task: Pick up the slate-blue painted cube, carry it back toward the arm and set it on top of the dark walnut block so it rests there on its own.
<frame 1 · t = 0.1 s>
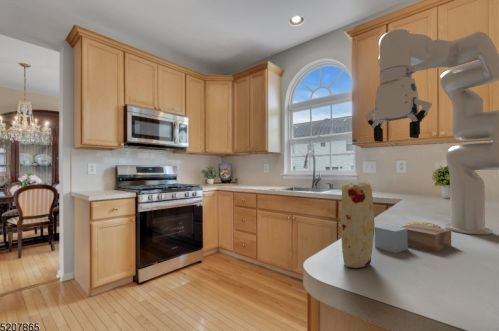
hand: (395, 139, 68), 31 cm above the countertop, tool pointing down, fingers open, 9 cm apart
slate cube: (391, 248, 71), on the countertop
decorated donut: (423, 235, 86), on the countertop
food model: (357, 265, 59), on the countertop
walnut block: (423, 245, 75), on the countertop
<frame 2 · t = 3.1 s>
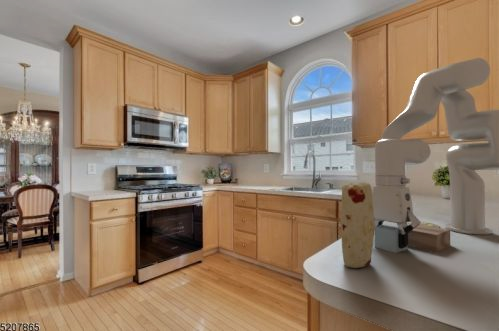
hand: (390, 243, 71), 1 cm above the countertop, tool pointing down, fingers closed on slate cube, 6 cm apart
slate cube: (390, 248, 71), on the countertop, touching gripper
everything else where it was.
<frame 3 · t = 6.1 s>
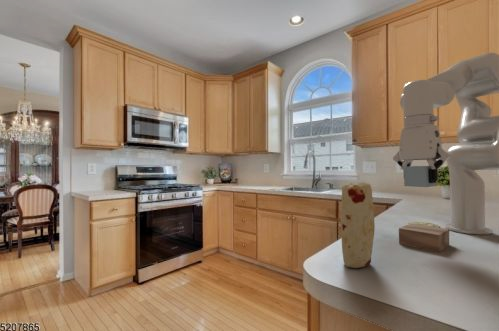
hand: (420, 181, 75), 19 cm above the countertop, tool pointing down, fingers closed on slate cube, 6 cm apart
slate cube: (420, 185, 75), point 18 cm above the countertop, touching gripper
everything else where it was.
when the fingers open (7 cm above the countertop, at t = 9.1 s): slate cube drops 1 cm, point 5 cm above the countertop.
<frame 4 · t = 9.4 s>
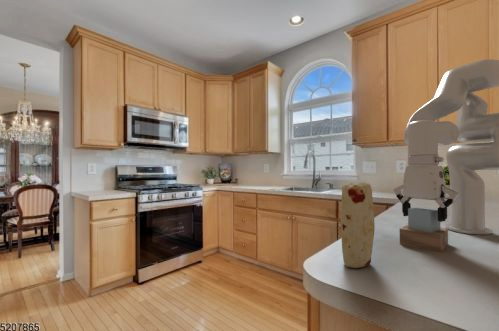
hand: (423, 218, 75), 8 cm above the countertop, tool pointing down, fingers open, 9 cm apart
slate cube: (424, 228, 75), point 5 cm above the countertop
everything else where it was.
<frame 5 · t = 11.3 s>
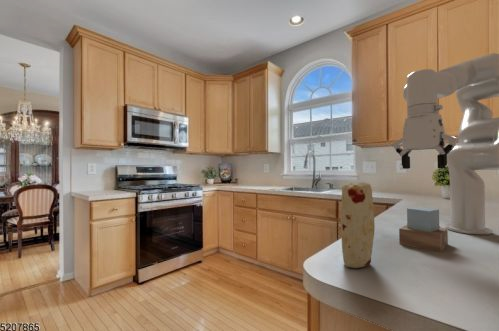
hand: (423, 168, 75), 23 cm above the countertop, tool pointing down, fingers open, 9 cm apart
nothing on the countertop moved.
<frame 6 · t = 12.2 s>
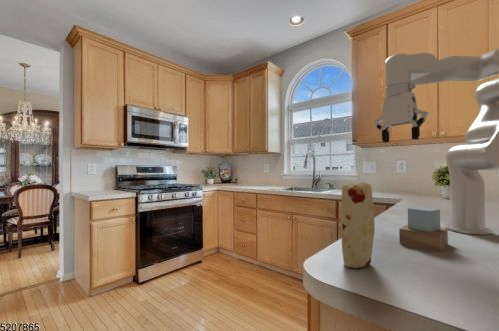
hand: (399, 140, 86), 33 cm above the countertop, tool pointing down, fingers open, 9 cm apart
nothing on the countertop moved.
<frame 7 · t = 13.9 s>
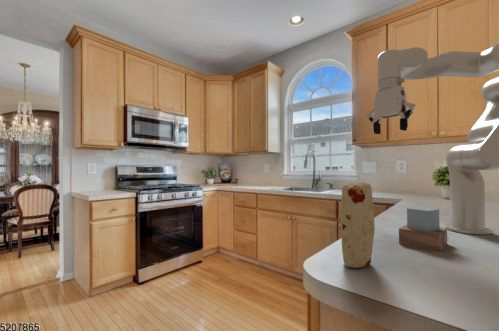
hand: (389, 132, 91), 36 cm above the countertop, tool pointing down, fingers open, 9 cm apart
nothing on the countertop moved.
at the end: slate cube inside the target area on the walnut block (0.1 cm from its centre), point 5.0 cm above the walnut block's base; slate cube tilted 0°; the gripper is holding nothing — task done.
